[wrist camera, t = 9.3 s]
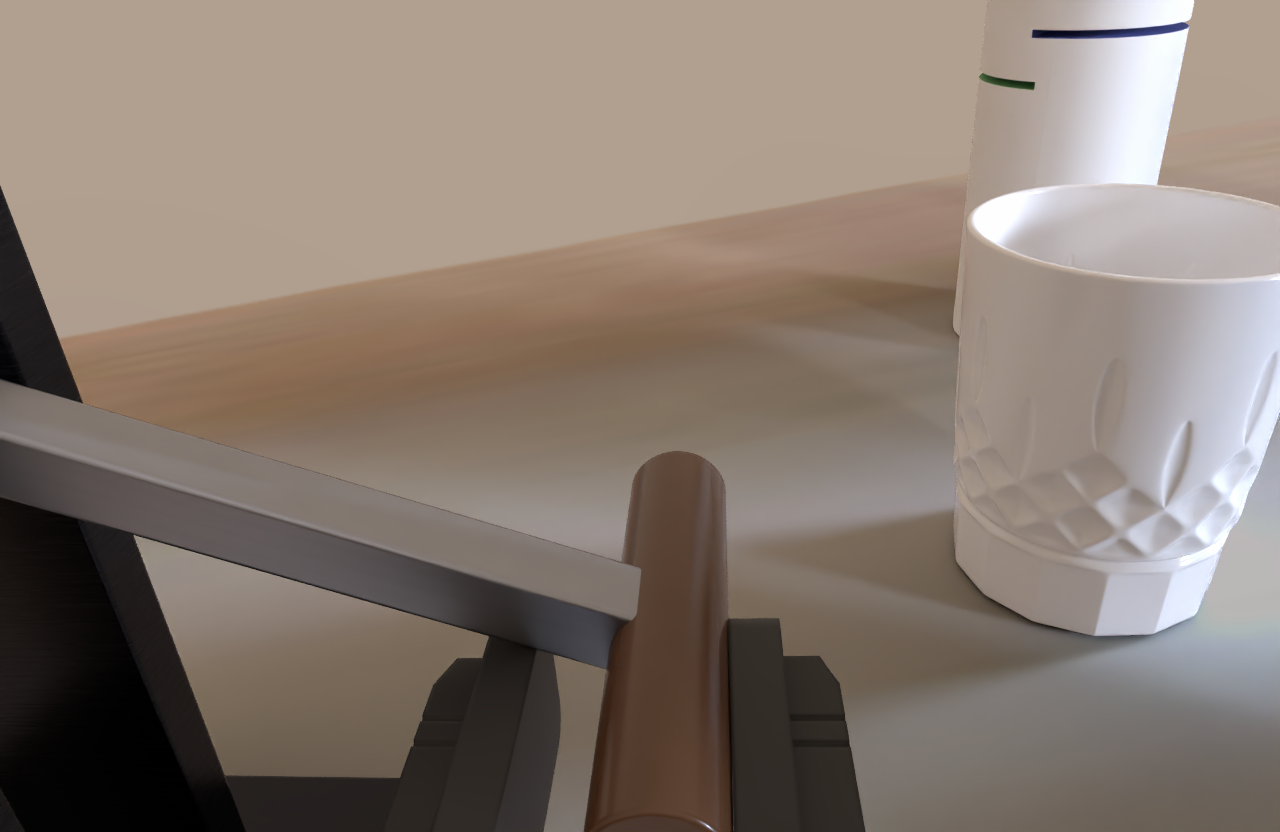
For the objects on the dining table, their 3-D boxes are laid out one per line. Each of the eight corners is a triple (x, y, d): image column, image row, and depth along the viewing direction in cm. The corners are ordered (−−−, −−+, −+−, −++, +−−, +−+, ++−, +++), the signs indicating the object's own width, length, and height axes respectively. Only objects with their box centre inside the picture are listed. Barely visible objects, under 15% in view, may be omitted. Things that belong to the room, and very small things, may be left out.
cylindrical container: (1102, 376, 37) (1262, -450, 26) (928, 341, 41) (998, -389, 29) (1142, 316, 42) (1292, -399, 30) (983, 290, 46) (1062, -352, 34)
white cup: (1271, 675, 23) (1406, 287, 18) (934, 636, 25) (977, 275, 20) (1189, 499, 30) (1271, 183, 25) (928, 479, 31) (959, 181, 27)
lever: (699, 557, 16) (747, 444, 15) (691, 950, 10) (772, 809, 9) (-137, 308, 15) (-151, 165, 14) (-725, 583, 9) (-835, 366, 8)
